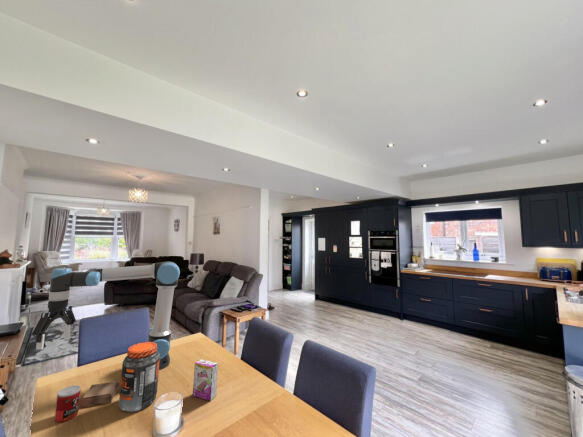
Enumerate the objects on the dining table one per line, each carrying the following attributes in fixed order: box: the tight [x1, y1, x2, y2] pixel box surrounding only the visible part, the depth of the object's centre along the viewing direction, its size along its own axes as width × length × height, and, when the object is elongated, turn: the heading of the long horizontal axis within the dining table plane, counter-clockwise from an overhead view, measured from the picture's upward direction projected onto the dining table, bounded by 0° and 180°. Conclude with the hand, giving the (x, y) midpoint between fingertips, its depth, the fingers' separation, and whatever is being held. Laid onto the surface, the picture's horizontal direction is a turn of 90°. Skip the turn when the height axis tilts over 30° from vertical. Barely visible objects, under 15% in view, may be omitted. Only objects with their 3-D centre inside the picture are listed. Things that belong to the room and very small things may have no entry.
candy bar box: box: [192, 358, 219, 402], centre depth 125 cm, size 11×5×16 cm, turn 71°
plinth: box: [79, 380, 120, 409], centre depth 121 cm, size 12×12×4 cm
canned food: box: [54, 385, 82, 424], centre depth 108 cm, size 8×8×11 cm
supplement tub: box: [118, 341, 160, 413], centre depth 120 cm, size 16×16×26 cm
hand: (53, 343), depth 123 cm, fingers open, 13 cm apart
